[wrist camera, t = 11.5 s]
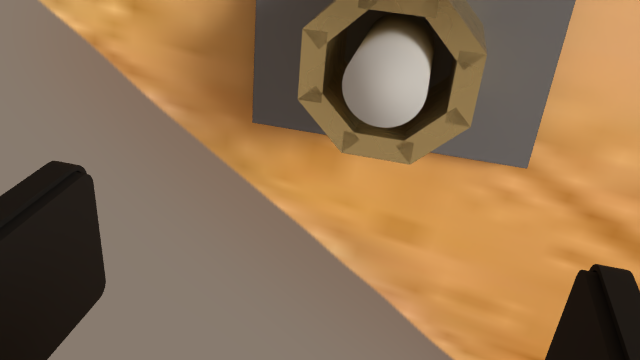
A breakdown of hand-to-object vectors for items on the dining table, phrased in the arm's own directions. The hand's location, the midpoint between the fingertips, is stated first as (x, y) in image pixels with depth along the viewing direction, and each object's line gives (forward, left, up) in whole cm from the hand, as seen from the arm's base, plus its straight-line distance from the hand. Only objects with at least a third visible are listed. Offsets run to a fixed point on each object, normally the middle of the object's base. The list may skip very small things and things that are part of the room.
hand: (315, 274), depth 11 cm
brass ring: (0, 0, -18) cm, 18 cm away
